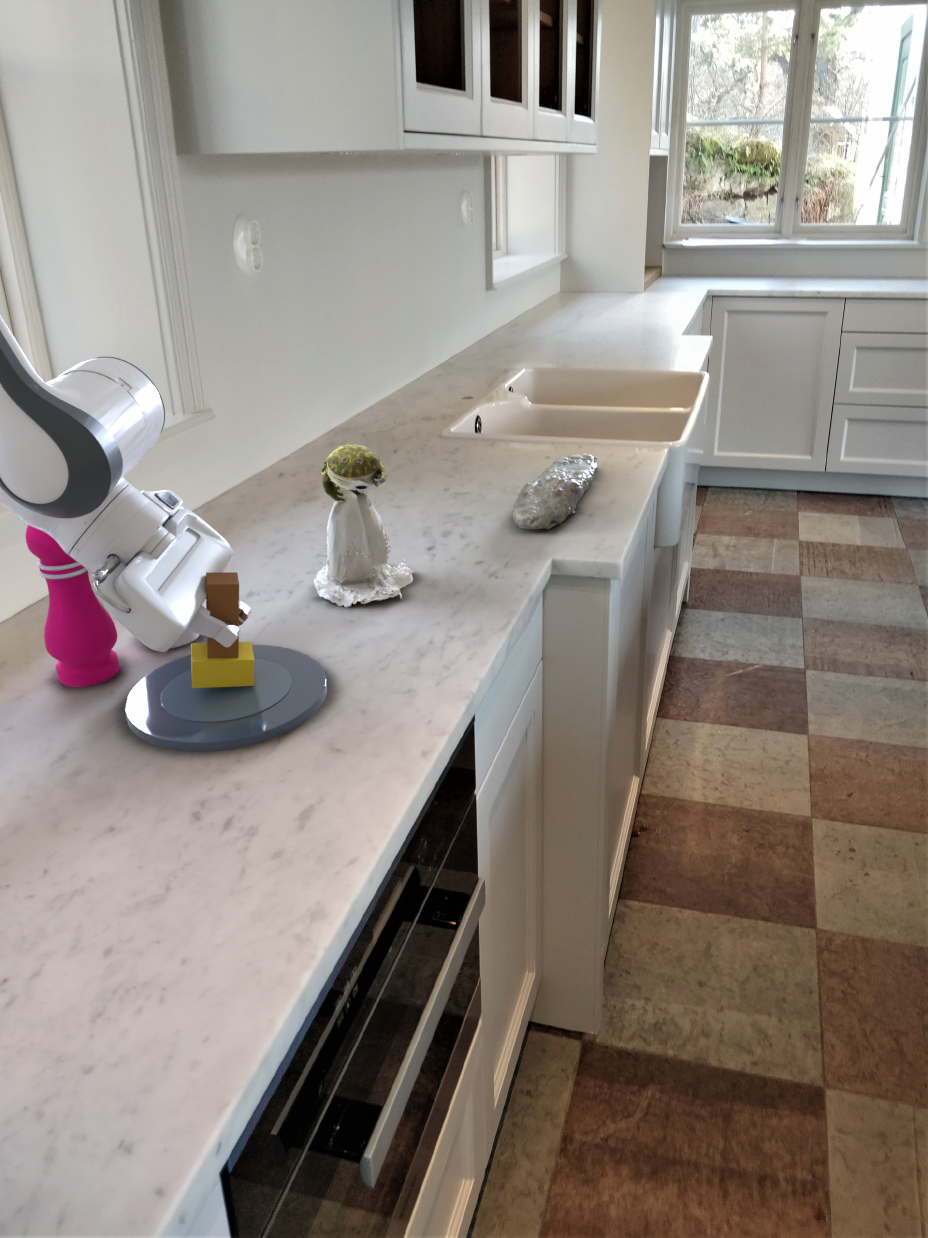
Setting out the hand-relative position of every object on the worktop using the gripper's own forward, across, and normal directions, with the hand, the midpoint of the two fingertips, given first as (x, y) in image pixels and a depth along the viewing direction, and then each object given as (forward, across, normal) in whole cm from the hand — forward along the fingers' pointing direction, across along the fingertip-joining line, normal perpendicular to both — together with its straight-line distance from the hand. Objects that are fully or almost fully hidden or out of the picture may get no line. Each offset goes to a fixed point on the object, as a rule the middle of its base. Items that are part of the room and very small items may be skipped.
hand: (240, 629), depth 95 cm
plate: (+4, -1, +7) cm, 8 cm away
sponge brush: (+2, 0, +6) cm, 6 cm away
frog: (+12, +27, -1) cm, 29 cm away
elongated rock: (+31, +61, -20) cm, 71 cm away
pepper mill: (-8, +5, +19) cm, 21 cm away
